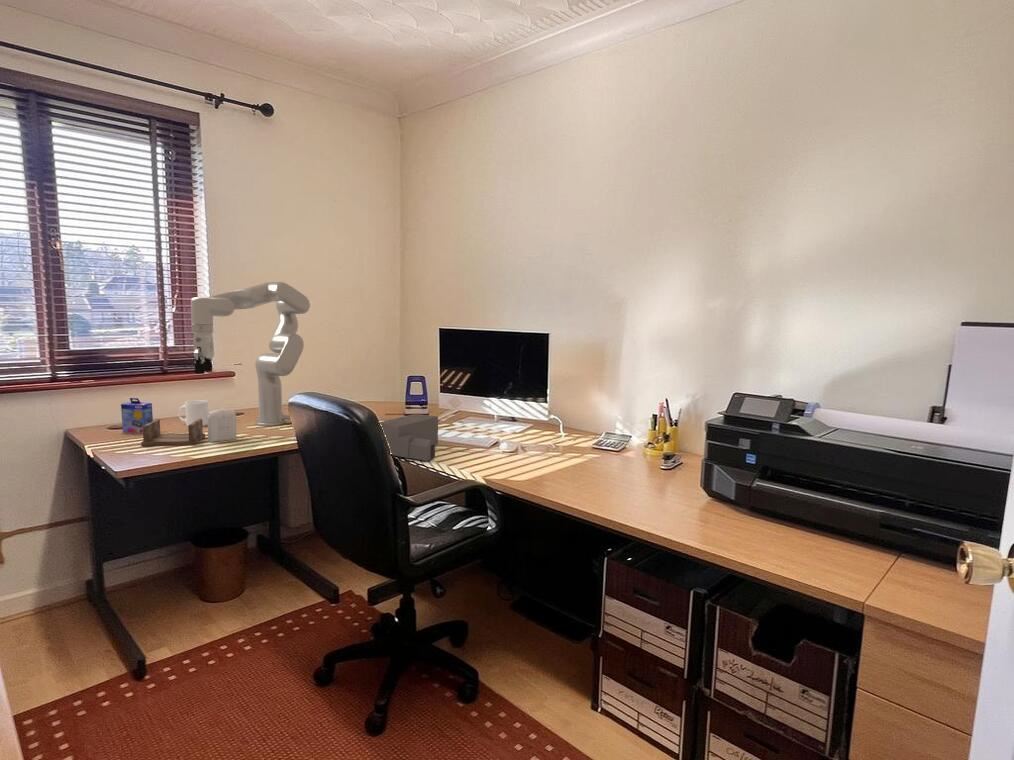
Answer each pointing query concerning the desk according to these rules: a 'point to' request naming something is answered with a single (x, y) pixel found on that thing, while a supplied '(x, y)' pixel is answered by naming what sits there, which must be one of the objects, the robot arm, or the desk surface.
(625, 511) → the desk surface
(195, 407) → the mug
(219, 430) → the photo printer
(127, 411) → the ink cartridge box
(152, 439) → the walnut rack
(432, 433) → the grey stepped block
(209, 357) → the robot arm
